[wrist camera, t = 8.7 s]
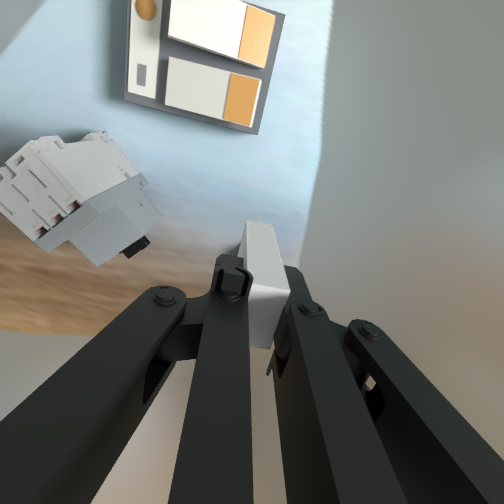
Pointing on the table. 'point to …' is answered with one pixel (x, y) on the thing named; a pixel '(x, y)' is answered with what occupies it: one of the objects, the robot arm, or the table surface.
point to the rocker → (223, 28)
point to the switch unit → (162, 47)
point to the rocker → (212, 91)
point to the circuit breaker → (78, 196)
